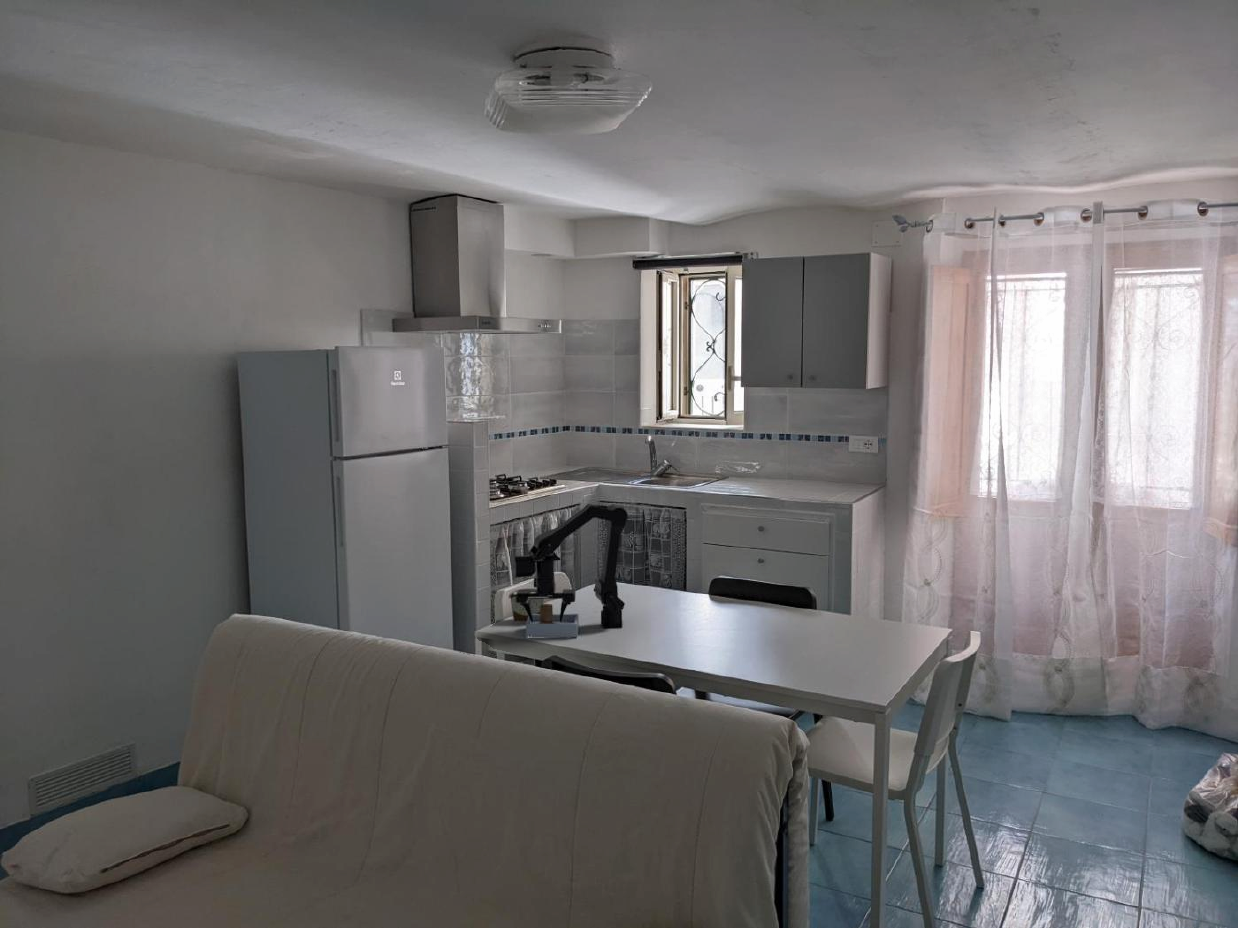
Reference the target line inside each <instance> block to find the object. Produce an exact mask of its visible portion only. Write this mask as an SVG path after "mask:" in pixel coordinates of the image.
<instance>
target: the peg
mask: <svg viewBox="0 0 1238 928" xmlns="http://www.w3.org/2000/svg"><path fill="white" fill-rule="evenodd" d="M553 609H554V607H553V604H551V603H543V604H542V605H540V624H553V614H554V611H553Z"/></svg>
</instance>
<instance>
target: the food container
mask: <svg viewBox="0 0 1238 928" xmlns="http://www.w3.org/2000/svg"><path fill="white" fill-rule="evenodd" d="M518 590H529V591H530V593H537V588H519V589H515V590H512V591H510V592H509V596H508V599H510V602H511V603H510V604H511V610H512V618H513V622H514V621H519V622H518V623H526V622H527V619H528V616H529V615H528V613H527V611H526V609H525V608H524V606H523V605H520V603H517V602H516V593H517V591H518ZM544 601H545V599H531V607H532V614H540V605H542V604H544Z"/></svg>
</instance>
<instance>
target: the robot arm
mask: <svg viewBox="0 0 1238 928" xmlns="http://www.w3.org/2000/svg"><path fill="white" fill-rule="evenodd" d="M628 516H629V515H628V512H627V510H626V509H625V508H623V507H621V506H620V505H617V504H610V505H600V504H593V503H587V504H586V505H585V506H584V507H582V509H580V510H579V511H577V512H576V513H575V514H573V515H572V516H571V517H569V518H568V519H566V520H565V521H564V522H562V523H560V525H558V526H557V527H555V528H552V529H549V530H546V531H544V532H542V533H540V534H538V535H537V536H536V537H535V538H534V542H533V545H532V546H531V548H530V550H529V551H528V553H527V554H526V555H525V554H524V555H518V554H517V555H514V556H513V559H512V563H511V572H512V575H513V578H525V577H532V576H533V575H536V577H533V588H534V589H537V593H530V591H529V590H518V589H517V590H518V591H517V593H516V602H517V603H520V605H523V606H524V608H525V609H526V611H527V613H528V615H529V618H530V620H531V623H533V614H532V607H531V599H544V600H550V599H551V600H555V599H557V600H560V599H561V603H560V604H561V605H560V612H559V614H560V622H561V621H562V618H563V614H565V611H566V609H567V607H568V606H570V605H571V604H572V603H575V602H576V595H577V594H576V593H577V592H576V590H575V589H571V588H570V589H566V588H565V589H563V590H562V592H556V590H557V588H556V586H557V585H556V581H555V561H556V562H557V561H561V557H560V556H558V555H557V553H556V551H557V549H558V548H559V547H560V546H561V545H562V543H563V541H564V540H565V539H568V538H569V536H571V535H572V534H573V533H576V531H578V530H579V529H580V528H582V527H583V526H584V525H586V524H587V523H589V522H590V521H591V520H593V519H595V518H596V519H601V520H604V523H605V524H604V525H605V529H606V536H605V546H604V554H603V563H602V571H601V576H600V577H599V579H597V578H595V579H594V588H593V592H594V594H595V597H596V598H597V600H598V601H600V603H601V605H602V609H601V610H600V624H601V625H602V627H601V628H604V629H606V628H607V629H608V628H613V629H614V628H623V610H624V608H625V605H626V603H625V602H624V601H623V600H622V599H621V598H620V597H619V595H618V594H619V592H618V591H619V589H618V583H617V579H616V576H617V566H618V559H619V553H620V552H619V551H620V545H621V534H622V533H623V531H624V530H625V528H626V526H627V521H628ZM535 573H536V574H535Z"/></svg>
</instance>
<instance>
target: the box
mask: <svg viewBox="0 0 1238 928" xmlns="http://www.w3.org/2000/svg"><path fill="white" fill-rule="evenodd" d="M579 618H580V617H579V613H564V614H563V618H562V621H561V622H560V613H553V624H540V614H533V623H531V620H530V618H529V616H528V619H527V622H525V637H526V636H527V637H528V636H529V637H531V636H532V637H577V638H578V633H579V628H580V627H579V626H580V625H579V623H580V622H579Z"/></svg>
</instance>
